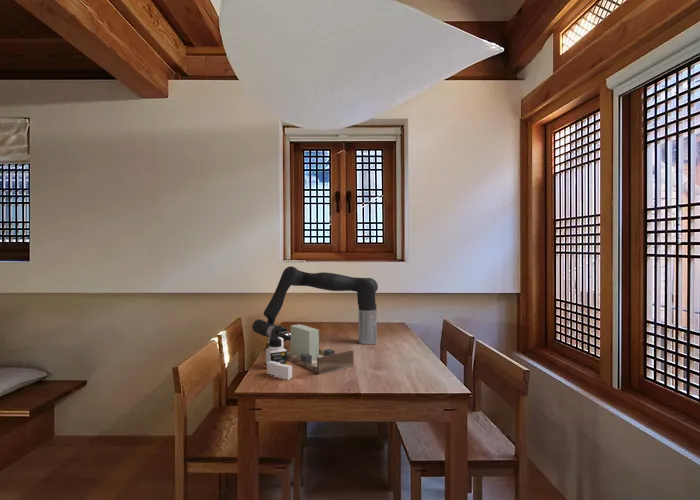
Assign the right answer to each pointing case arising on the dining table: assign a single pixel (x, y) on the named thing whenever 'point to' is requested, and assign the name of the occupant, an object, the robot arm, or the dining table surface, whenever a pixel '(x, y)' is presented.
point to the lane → (325, 362)
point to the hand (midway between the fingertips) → (295, 339)
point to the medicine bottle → (276, 351)
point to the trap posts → (308, 357)
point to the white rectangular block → (279, 370)
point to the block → (304, 341)
